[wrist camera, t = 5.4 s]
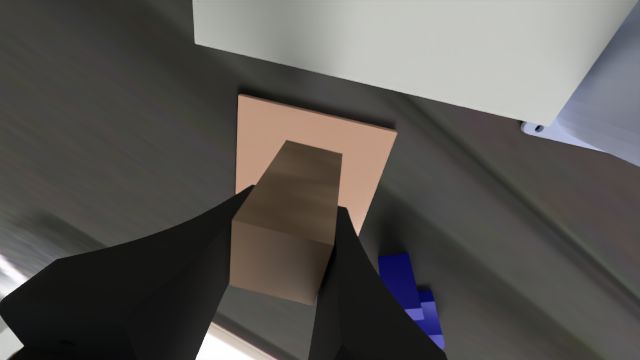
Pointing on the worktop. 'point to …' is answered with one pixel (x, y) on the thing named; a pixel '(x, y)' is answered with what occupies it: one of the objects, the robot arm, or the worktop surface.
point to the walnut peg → (288, 225)
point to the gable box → (8, 342)
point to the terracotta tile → (318, 131)
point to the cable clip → (411, 294)
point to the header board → (428, 45)
